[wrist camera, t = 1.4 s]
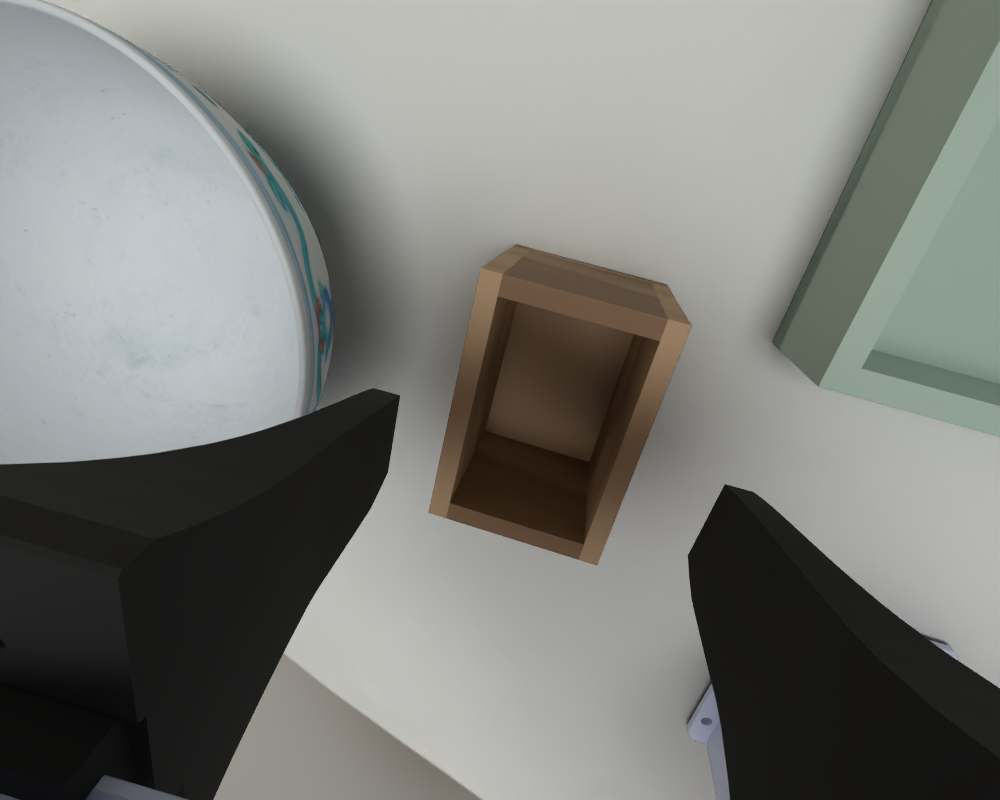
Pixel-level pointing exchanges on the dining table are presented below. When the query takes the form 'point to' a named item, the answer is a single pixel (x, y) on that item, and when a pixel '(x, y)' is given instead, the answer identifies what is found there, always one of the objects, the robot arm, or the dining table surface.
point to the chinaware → (141, 256)
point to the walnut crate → (555, 399)
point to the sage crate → (917, 239)
